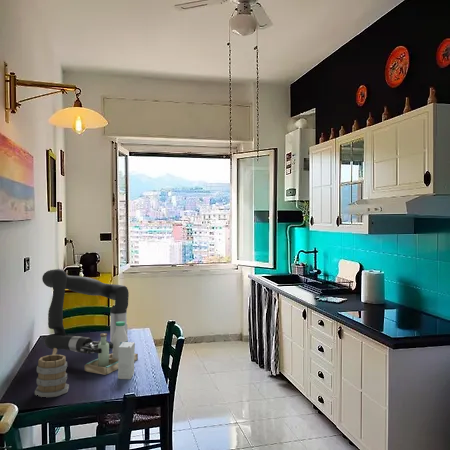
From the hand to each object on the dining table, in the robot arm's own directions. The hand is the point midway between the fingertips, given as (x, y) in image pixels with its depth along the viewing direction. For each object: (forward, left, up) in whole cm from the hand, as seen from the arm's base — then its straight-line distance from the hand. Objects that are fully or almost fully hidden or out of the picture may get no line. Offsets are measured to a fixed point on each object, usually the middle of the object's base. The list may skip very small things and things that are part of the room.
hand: (107, 348), depth 215 cm
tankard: (+29, -5, -10) cm, 31 cm away
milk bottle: (-12, -2, -10) cm, 16 cm away
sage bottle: (0, -2, -10) cm, 10 cm away
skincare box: (+4, +14, -10) cm, 18 cm away
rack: (-6, -2, -10) cm, 12 cm away
